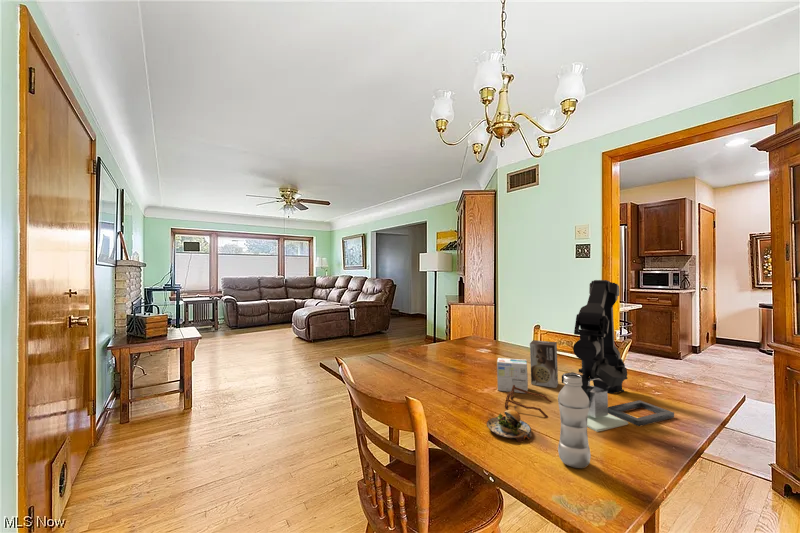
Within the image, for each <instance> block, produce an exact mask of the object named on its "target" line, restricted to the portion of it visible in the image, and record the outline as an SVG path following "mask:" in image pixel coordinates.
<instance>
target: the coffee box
mask: <svg viewBox="0 0 800 533" xmlns="http://www.w3.org/2000/svg"><path fill="white" fill-rule="evenodd" d="M557 346H558V342H556V341H546V340H534V339H532V341H531V342H530V343H529V350H530V351H529V352H530V353H529V356H530V357H529V358H530V359H529V360H530V384H531V385H532V384H533V386H540V387H547V388H554V389H557V388H558V385H559V372H558V347H557Z"/></svg>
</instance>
